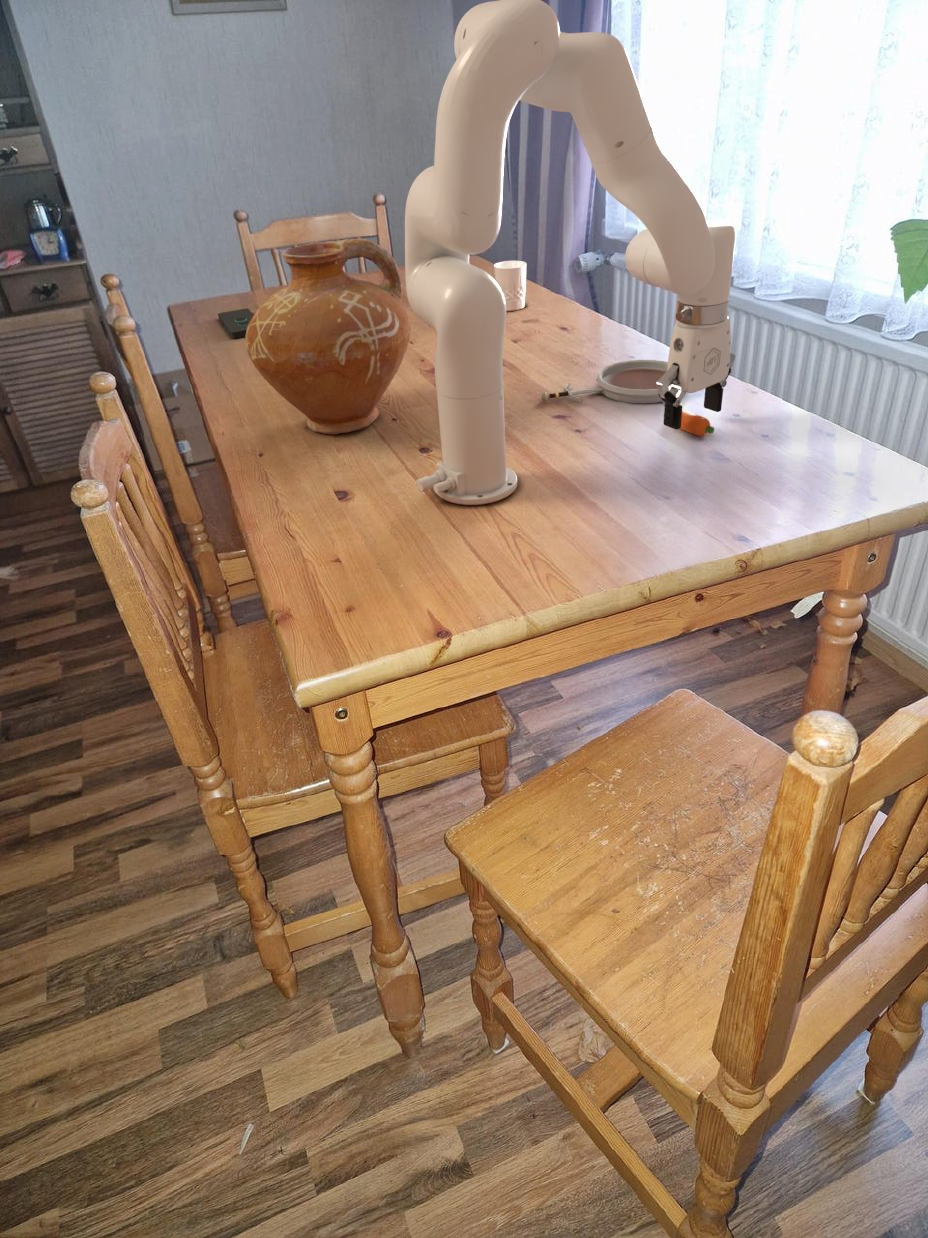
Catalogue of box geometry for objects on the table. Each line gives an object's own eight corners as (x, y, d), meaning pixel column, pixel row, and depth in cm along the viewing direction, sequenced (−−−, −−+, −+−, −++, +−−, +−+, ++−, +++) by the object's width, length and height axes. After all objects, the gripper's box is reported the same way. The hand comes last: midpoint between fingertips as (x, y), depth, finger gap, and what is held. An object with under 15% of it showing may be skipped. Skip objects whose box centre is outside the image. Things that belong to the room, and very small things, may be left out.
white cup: (491, 311, 199) (490, 268, 193) (500, 302, 205) (498, 260, 199) (523, 311, 197) (522, 268, 191) (530, 302, 203) (529, 260, 197)
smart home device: (230, 332, 193) (216, 312, 208) (232, 339, 194) (218, 319, 209) (264, 325, 196) (248, 307, 211) (266, 333, 197) (249, 314, 212)
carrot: (717, 436, 132) (719, 418, 130) (704, 441, 131) (706, 424, 129) (670, 419, 139) (672, 402, 137) (658, 424, 137) (659, 407, 136)
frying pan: (529, 374, 155) (668, 352, 158) (529, 389, 156) (667, 367, 159) (554, 406, 141) (706, 381, 144) (554, 421, 143) (704, 397, 146)
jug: (253, 410, 155) (215, 241, 138) (394, 383, 162) (374, 219, 145) (281, 467, 134) (239, 275, 116) (441, 432, 141) (425, 247, 123)
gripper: (682, 330, 117) (673, 440, 127) (759, 302, 124) (745, 408, 135) (643, 320, 122) (638, 427, 132) (720, 294, 130) (709, 397, 140)
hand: (692, 418), depth 133 cm, fingers open, 9 cm apart
